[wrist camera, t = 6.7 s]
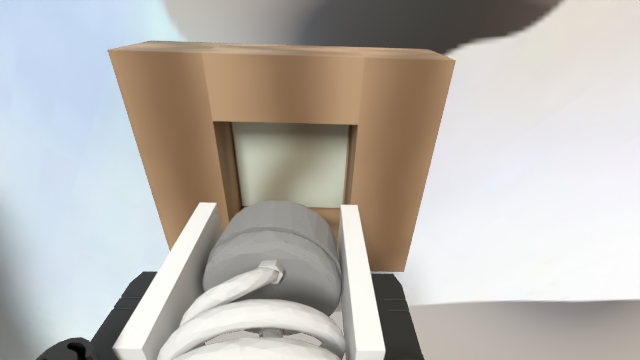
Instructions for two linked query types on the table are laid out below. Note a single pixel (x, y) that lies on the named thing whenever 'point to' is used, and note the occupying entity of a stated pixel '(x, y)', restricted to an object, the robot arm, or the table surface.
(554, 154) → the table surface
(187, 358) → the light bulb
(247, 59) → the socket board
